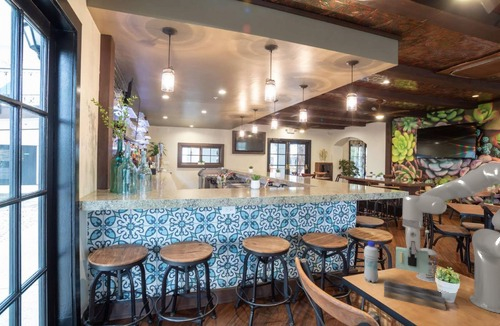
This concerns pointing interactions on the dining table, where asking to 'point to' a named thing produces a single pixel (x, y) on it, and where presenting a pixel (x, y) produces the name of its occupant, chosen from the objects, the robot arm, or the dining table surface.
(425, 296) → the bottom track
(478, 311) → the dining table surface
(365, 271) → the bottle
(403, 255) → the door panel
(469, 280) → the dining table surface
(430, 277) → the french press
